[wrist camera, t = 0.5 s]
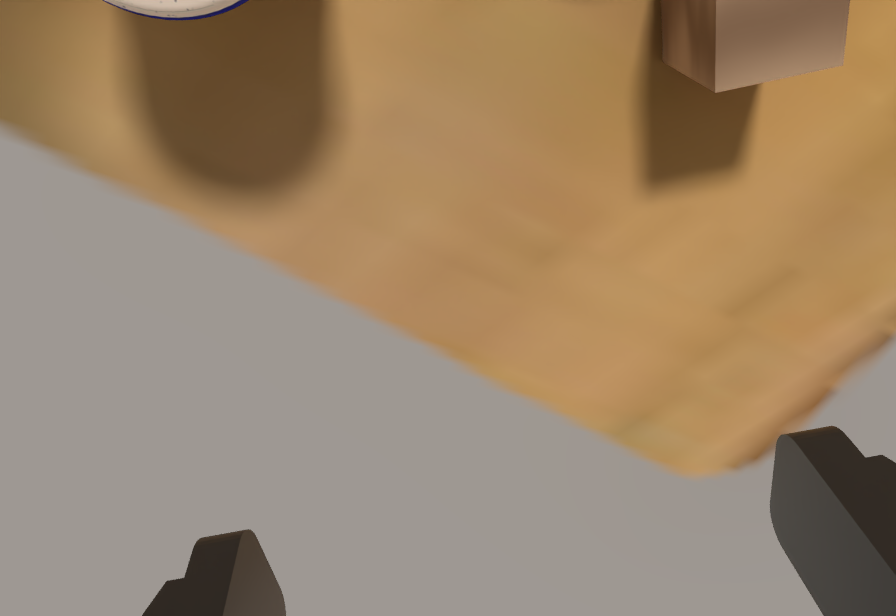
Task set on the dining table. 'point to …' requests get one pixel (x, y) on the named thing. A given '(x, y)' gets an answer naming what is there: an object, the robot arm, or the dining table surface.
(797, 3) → the walnut block
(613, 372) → the dining table surface
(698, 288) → the dining table surface
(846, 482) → the robot arm
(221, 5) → the teacup with lid
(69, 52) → the dining table surface
